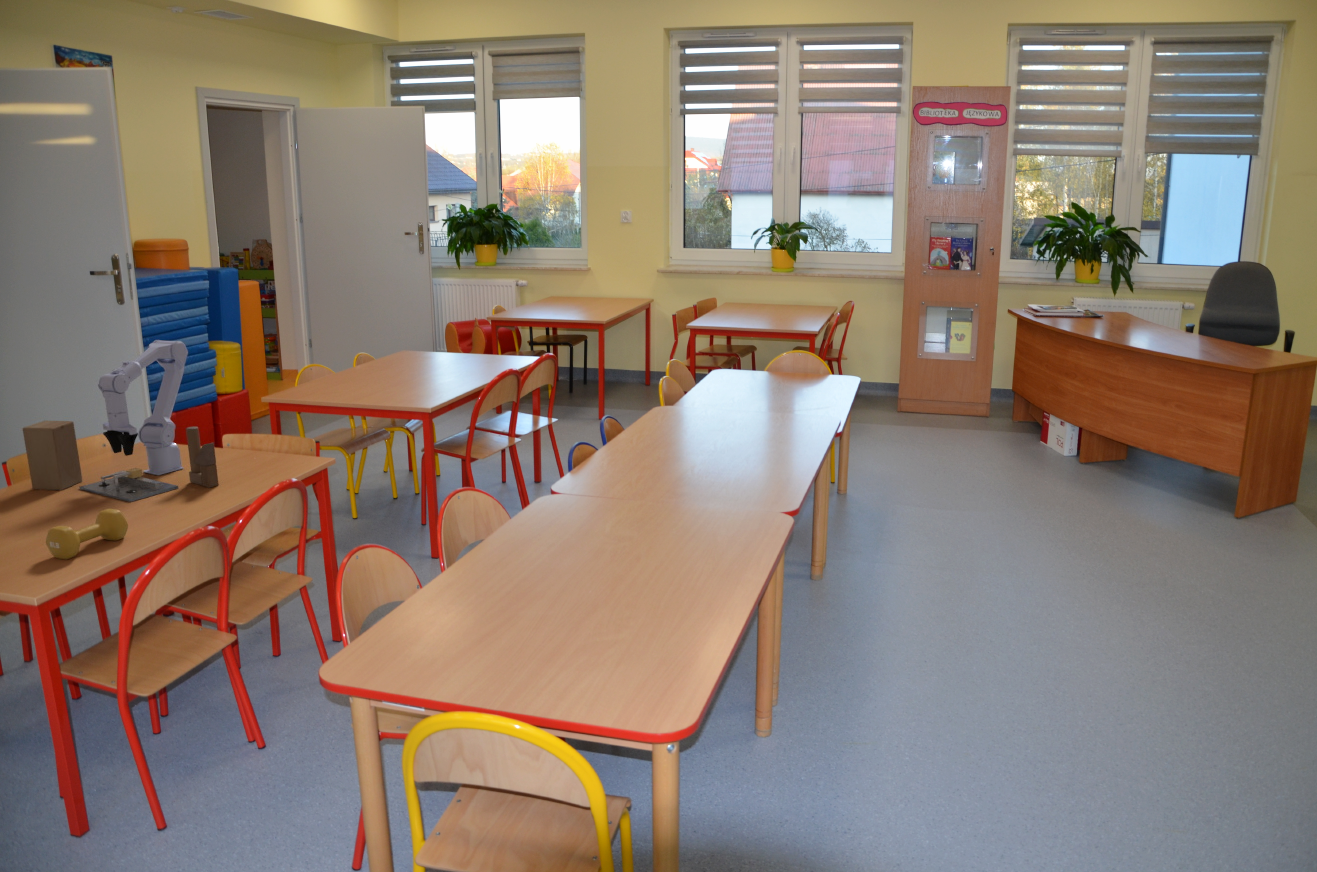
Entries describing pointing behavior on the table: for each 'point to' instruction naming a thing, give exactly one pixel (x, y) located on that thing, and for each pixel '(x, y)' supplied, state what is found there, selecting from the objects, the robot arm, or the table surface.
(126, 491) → the hole plate
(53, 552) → the dumbbell
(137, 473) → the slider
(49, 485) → the wooden block
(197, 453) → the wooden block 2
